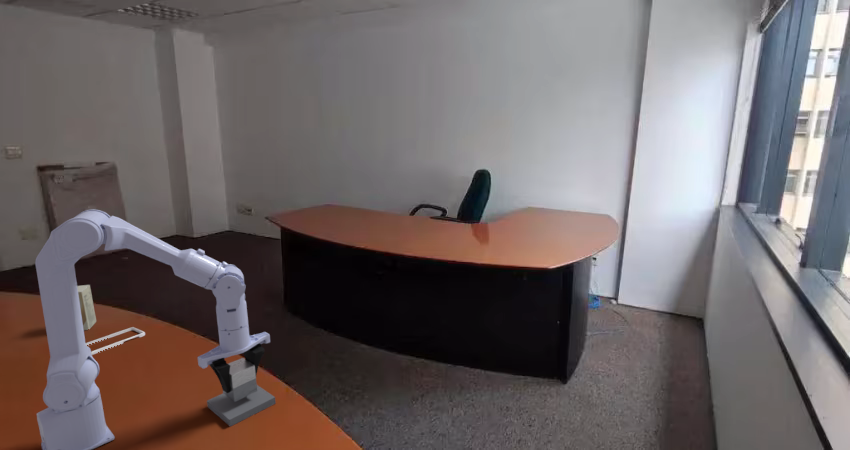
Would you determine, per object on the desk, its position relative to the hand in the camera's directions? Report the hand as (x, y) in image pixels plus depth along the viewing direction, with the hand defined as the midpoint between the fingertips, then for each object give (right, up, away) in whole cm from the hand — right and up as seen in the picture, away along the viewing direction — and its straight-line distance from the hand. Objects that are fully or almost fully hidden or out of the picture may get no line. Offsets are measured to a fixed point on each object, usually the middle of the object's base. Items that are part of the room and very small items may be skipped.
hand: (239, 384), depth 95 cm
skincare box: (-63, +3, +40) cm, 75 cm away
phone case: (-48, 0, +30) cm, 57 cm away
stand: (0, -5, +1) cm, 5 cm away
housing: (0, -2, 0) cm, 2 cm away
